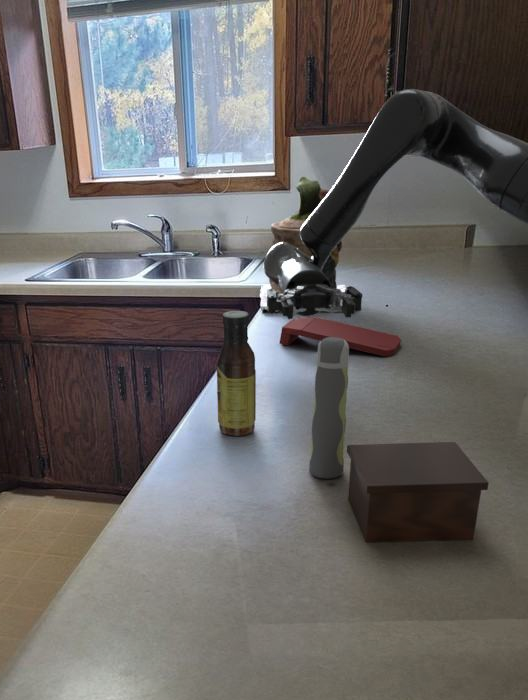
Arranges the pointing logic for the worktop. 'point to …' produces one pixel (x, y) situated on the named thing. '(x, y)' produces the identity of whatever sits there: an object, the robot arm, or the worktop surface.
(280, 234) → the cookie jar
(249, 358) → the sauce bottle
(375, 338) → the red bent slab
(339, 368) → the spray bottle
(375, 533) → the box
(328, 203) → the robot arm
